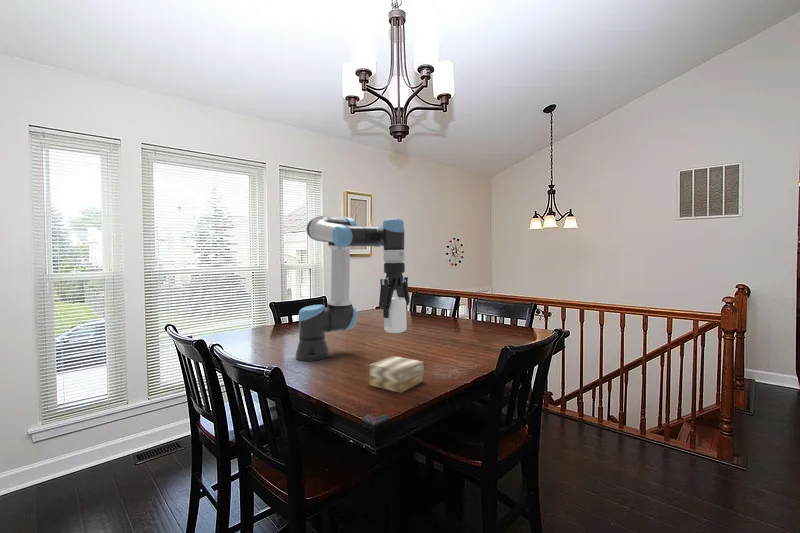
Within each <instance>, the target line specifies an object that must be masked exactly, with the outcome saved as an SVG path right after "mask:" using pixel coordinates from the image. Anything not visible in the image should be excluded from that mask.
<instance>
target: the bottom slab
mask: <svg viewBox="0 0 800 533" xmlns="http://www.w3.org/2000/svg"><path fill="white" fill-rule="evenodd" d="M368 380H369V383H368V385H369V386H372V387H376V388H380V389H383V390H387V391H392V392H396V393H399V394H402V393H403V392H405V391H407V390H409V389H412V388H413V387H415V386H417V385H420V384H421V383H423V382H424V373H421V374H419V375H417V376H415V377H412V378H410V379H408V380H406V381H403V382H401V383H399V382H395V381H390V380H386V379H382V378H378V377H374V376H370V374H369V378H368Z"/></svg>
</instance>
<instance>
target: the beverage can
mask: <svg viewBox="0 0 800 533" xmlns="http://www.w3.org/2000/svg"><path fill="white" fill-rule="evenodd" d="M406 300H407V299H406ZM406 300H405V298H403V297H398V296H392V300H391V304H390V308H389V309H391V324H392V327H384V326H383V327H384V328H383V329H384V331H385V332H387V333H389V334H390V333H391V334H399V333H403V332H405V331H406V330H407V324H408V323H407V305H406Z"/></svg>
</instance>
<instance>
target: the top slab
mask: <svg viewBox="0 0 800 533" xmlns="http://www.w3.org/2000/svg"><path fill="white" fill-rule="evenodd" d="M368 365H369V375H370V376H374V377H378V378H382V379H386V380H390V381H395V382H399V383H401V382H403V381H406V380H408V379H410V378H412V377H415V376H417V375H419V374H421V373H423V374H424V373H425V372H424V371H425V370H424V368H425V367H424V361H423V360H422V361H421V360H417V359H410V358H408V357H407V358H406V357H402V356H395V355H393V356H390V357H387V358H385V359H381V360H378V361H376V362H375V361H374V362H373V363H370V364H368Z"/></svg>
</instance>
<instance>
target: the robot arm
mask: <svg viewBox="0 0 800 533" xmlns="http://www.w3.org/2000/svg"><path fill="white" fill-rule="evenodd" d="M305 230H306V233H307V235H308V237H309V238H310V239H311V240H314V241H317V242H325V243H326V242H327V245H328V247H329V248H330V250H331V259H330V260H331V263H330V264H331V265H330V266H331V268H330V272H331V273H330V286H331V287H330V300H328V301H327V307H326V306H325V305H324V304H313V305H309V306H308V305H307V306H304V307H302V308H300V310H299V311H298V320H297V321H298V338H299V339H298V344H297V350H296V351H295V359H296V360H298V361H303V362H304V361H305V362H306V361H307V362H309V361H310V362H314V361H319V360H325V359H327V358H329V357H330V350H329V346H328V344H327V340H326V333H331V332H333V333H334V332H340V331H342V332H344V331H347V330H350V329H353V328H354V327H355V324H356V322H357V316H358V312H357V308H356V306H355V305H353V301H351V299H350V272H351V271H350V269H351V268H350V266H351V262H350V261H351V249H352V248H353V247H374V248H375V247H376V248H377V247H383V261H384V263H383V273H384V274H385V278H381V279H380V280H379V281H380V283H379V284H380V291H379V292H380V293H379V302H378V307H379V308H380V309H383V310H382V311H383V315H382V317H383V327H392V324H391V309H389V308H390V304H391V300H392V297H394V296H393V295H394V292H396V295H397V296H396V297H403V298H405V300H406V306H410V303H411V302H410V292H409V286H408V280H409V277H408V276H403V274H404V273H405V272H406V270H405V269H406V268H405V267H406V265H405V263H404V261H405V223H404V220H403V219H401V218H386V219H383V222H382V226H375V225H370V226H368V225H358V224H357V222H356V220H355V219H353V218H352V217H350V216H349V217H348V216H333V215H332V216H330V215H329V216H326V215H320V216H316V217H313V218H312V219H310V220H309V221H308V222H307V225H306V229H305Z"/></svg>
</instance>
